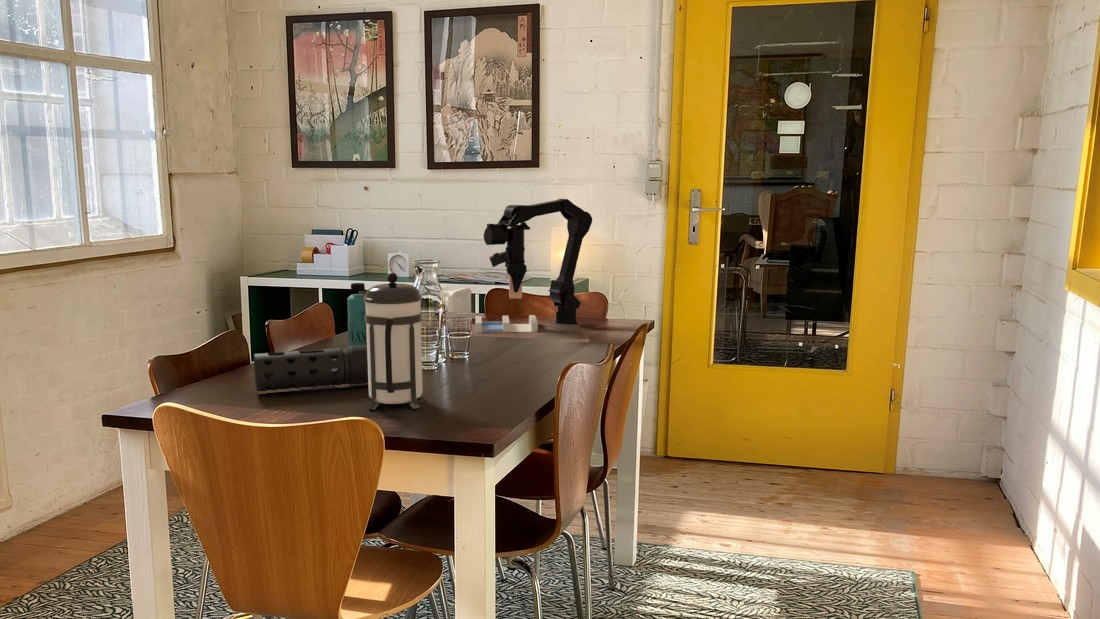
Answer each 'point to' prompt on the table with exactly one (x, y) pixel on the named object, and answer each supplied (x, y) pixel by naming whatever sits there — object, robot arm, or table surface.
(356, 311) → the beverage bottle
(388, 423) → the table surface
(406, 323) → the coffee press
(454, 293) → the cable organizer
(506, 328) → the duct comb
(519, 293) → the pinkish tan block
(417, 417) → the table surface
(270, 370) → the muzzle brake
